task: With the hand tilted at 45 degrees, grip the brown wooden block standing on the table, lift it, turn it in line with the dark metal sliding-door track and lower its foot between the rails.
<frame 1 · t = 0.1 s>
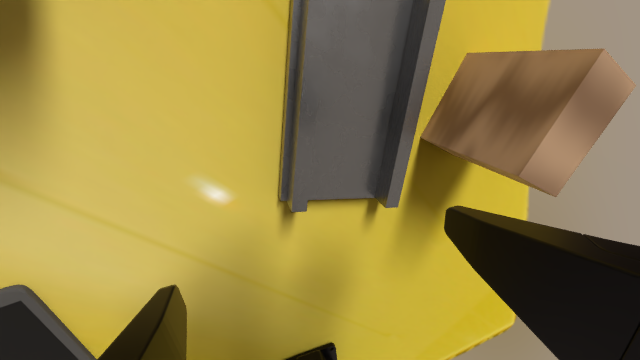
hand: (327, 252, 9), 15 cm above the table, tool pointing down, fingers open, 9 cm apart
door track: (348, 104, 23), on the table
cell phone: (34, 353, 23), on the table
brown wooden block: (459, 107, 26), on the table
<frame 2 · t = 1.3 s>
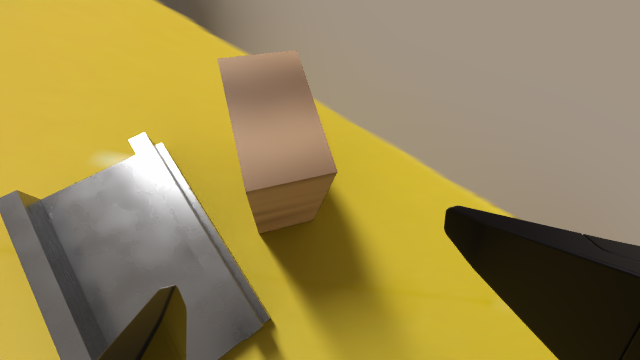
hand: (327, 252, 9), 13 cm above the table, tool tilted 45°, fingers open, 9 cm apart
door track: (147, 266, 20), on the table
brown wooden block: (275, 181, 24), on the table
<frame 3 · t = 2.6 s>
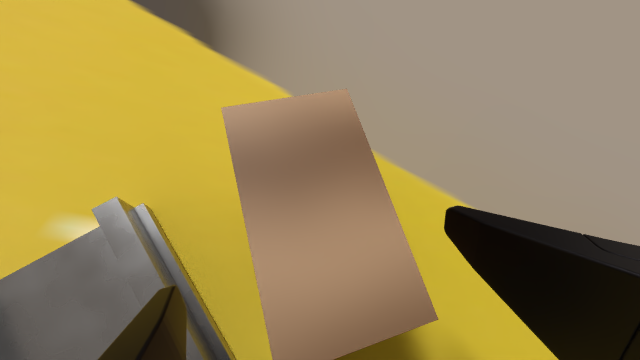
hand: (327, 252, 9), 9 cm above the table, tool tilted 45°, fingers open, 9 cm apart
brown wooden block: (298, 251, 18), on the table
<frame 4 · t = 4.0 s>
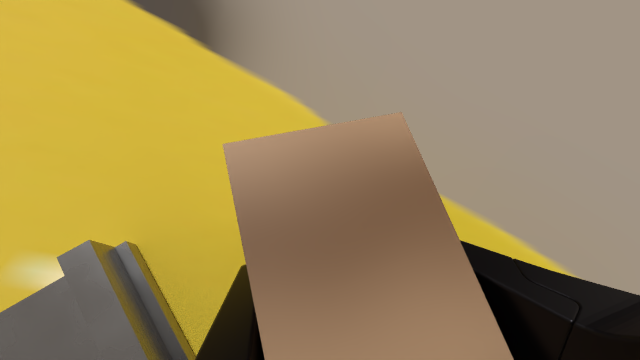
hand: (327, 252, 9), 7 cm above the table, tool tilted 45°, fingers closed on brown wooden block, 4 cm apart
brown wooden block: (314, 296, 15), on the table, touching gripper
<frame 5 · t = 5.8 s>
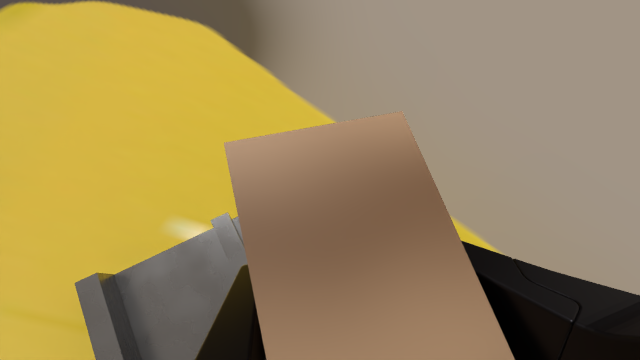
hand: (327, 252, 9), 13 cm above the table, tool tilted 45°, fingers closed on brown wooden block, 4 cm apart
door track: (215, 359, 19), on the table
brown wooden block: (315, 295, 15), point 7 cm above the table, touching gripper
when the fingers open (9 cm above the table, at t = 7.8 s): brown wooden block drops 1 cm, resting on door track.
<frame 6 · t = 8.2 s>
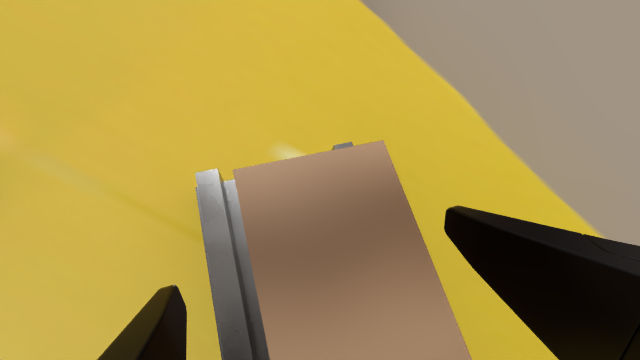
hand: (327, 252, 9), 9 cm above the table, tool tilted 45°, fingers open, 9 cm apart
door track: (309, 295, 17), on the table
brown wooden block: (311, 295, 16), point 1 cm above the table, touching door track
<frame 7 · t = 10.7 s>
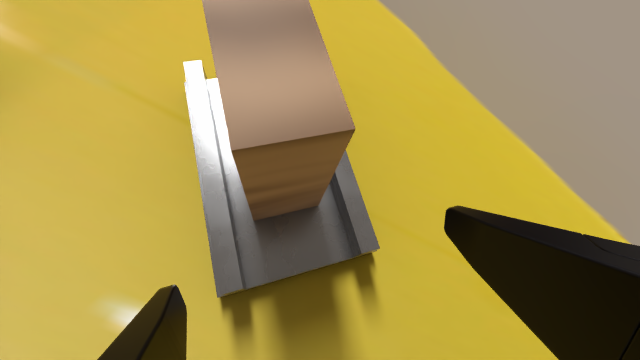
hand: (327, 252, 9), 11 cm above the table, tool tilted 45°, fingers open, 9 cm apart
door track: (274, 166, 21), on the table
brown wooden block: (274, 160, 20), point 1 cm above the table, touching door track
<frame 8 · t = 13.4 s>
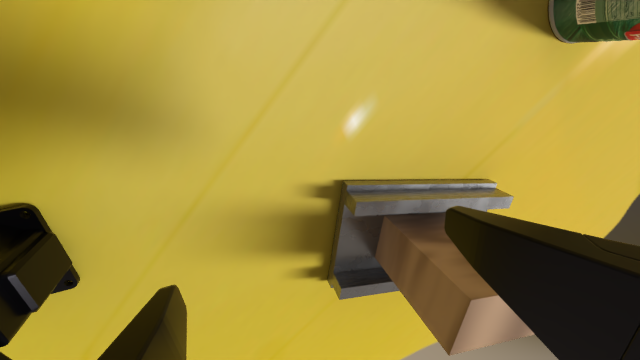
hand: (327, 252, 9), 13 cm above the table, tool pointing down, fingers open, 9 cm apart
door track: (410, 228, 28), on the table
brown wooden block: (416, 234, 27), point 1 cm above the table, touching door track
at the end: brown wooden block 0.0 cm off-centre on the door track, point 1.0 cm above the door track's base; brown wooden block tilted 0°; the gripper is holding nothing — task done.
